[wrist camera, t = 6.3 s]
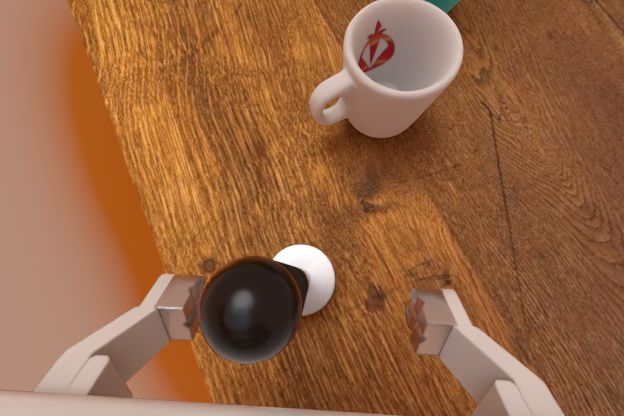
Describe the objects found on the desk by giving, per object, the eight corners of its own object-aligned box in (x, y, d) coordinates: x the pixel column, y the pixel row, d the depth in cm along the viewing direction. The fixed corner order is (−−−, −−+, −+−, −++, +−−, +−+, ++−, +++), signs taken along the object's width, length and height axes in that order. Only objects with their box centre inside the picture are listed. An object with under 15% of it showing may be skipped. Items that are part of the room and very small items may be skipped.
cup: (330, 176, 25) (338, 133, 17) (293, 103, 27) (285, 34, 19) (436, 128, 26) (489, 67, 18) (394, 61, 28) (426, -22, 20)
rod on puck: (336, 307, 23) (504, 558, 3) (273, 313, 23) (-15, 619, 3) (329, 244, 24) (416, 103, 4) (269, 250, 24) (44, 135, 4)
